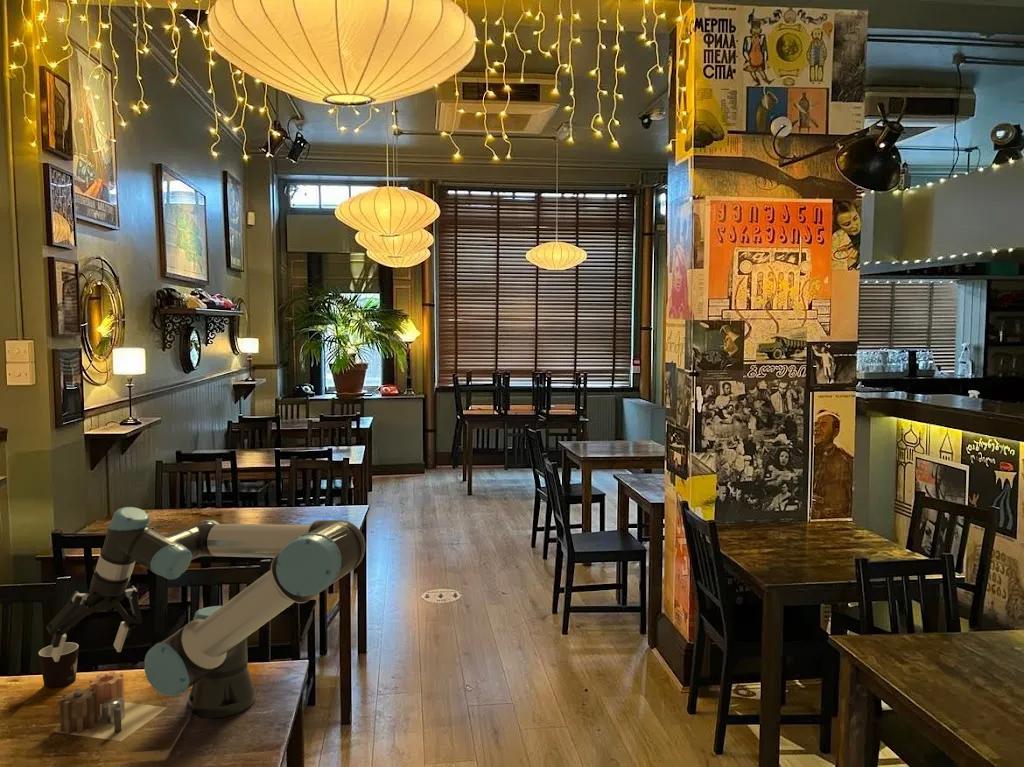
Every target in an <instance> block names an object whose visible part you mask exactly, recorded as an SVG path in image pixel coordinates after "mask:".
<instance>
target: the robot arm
mask: <svg viewBox="0 0 1024 767" xmlns="http://www.w3.org/2000/svg"><path fill="white" fill-rule="evenodd" d="M149 524H150V515H149V513H148V512H146V511H145V510H144V509H141V508H138V507H135V506H133V507H132V506H124V507H121V508H119V509H117V510H115V511H114V513H113V515H112V517H111V521H110V523H109V524H108V526H107V531H106V535H105V538H104V543H103V546H102V548H101V551H100V554H99V557H98V560H97V563H96V566H95V569H94V572H93V575H92V578H91V582H90V585H89V589H88V590H87V592H86V593H80V592H79V591H78V590H75V591H73V592H72V594H71V596H70V598H69V600H67V602H66V604H65V605H64V606H63V607H62V608H61V609H60V611H59V612H58V613H57V614H56V615H54V617H53V618H52V619H51V621H50V622H49V623H47V625H46V629H47V631H48V633H49V635H50V636H52V638H51V640H50V645H52V646H53V650H52V653H51V655H52V657H53V659H54V661H55V662H58V661H59V659H60V656H61V652H62V649H63V646H64V643H65V642H66V640H67V633H68V632H69V631H70V630H71V629H72V628H73V627H74V626H76V625H77V624H79V622H81V621H82V620H83V619H84V618H86V617H87V616H90V615H92V614H93V613H94V612H101V611H111V609H113V608H115V610H116V611H117V612H118V614H119V615H120V616H121V618H122V620H124V621H121V622H120V625H119V627H118V630H117V633H116V636H115V640H114V642H113V647H114V649H115V650H116V652H117V653H121V652H122V649H123V646H124V644H125V640H126V638H129V637H130V634H131V631H132V630H133V629H135V628H136V624H139V625H140V624H142V623H143V622H144V621H143V617H142V612H141V609H140V605H139V601H138V597H139V591H138V590H137V588H136V587H135V586H134V585H130V587H129V588H128V585H129V583H130V581H131V576H132V573H133V572H134V571H133V570H134V568H135V564H136V563H138V564H139V565H141V566H143V567H144V568H146V569H148V570H149V571H151V572H152V573H153V574H155V575H158V576H160V577H163V578H165V579H167V580H176V579H177V578H180V577H181V575H182V574H184V573H185V572H186V571H187V570H188V569H189V566H190V564H191V563H192V560H194V559H197V558H200V557H233V558H235V557H236V558H237V557H238V558H267V559H268V558H270V559H272V561H271V565H270V570H268V571H267V572H264V574H263V575H262V576H260V577H259V578H257V579H256V580H254V582H252V583H251V584H250V585H248V586H247V587H245V588H244V589H243V590H241V591H240V592H239V593H237V594H236V595H235V596H233V597H232V598H231V599H230V600H228V601H227V602H226V603H224V604H223V605H213V606H207V607H203V608H200V609H198V610H197V611H196V610H195V613H194V616H193V620H191V621H189V622H188V623H186V624H184V626H182V627H181V628H179V630H177V631H176V632H175V633H173V634H172V635H170V636H168V637H167V638H165V639H164V640H162V641H161V642H157V643H155V644H154V645H153V646H151V648H150V649H149V650H147V653H146V654H145V657H144V662H143V664H144V668H143V669H144V674H145V677H146V679H147V680H148V682H149V684H150V686H151V687H152V688H153V689H154V690H155V691H156V692H158V693H159V694H163V695H164V696H166V697H174V696H177V695H179V694H182V693H185V692H186V691H187V690H188V689H189V688H191V690H190V692H189V697H188V706H189V707H190V709H192V711H191V713H190V714H192V715H193V716H195V717H198V718H203V719H218V718H225V717H229V716H233V715H237V714H240V713H241V712H244V711H245V710H247V709H249V708H250V707H251V706H252V705H253V704H254V703H255V702H256V698H257V694H256V692H257V690H256V685H255V684H254V682H253V678H252V675H251V672H250V671H249V667H248V666H249V664H248V637H249V636H251V634H253V633H254V632H256V631H257V630H259V629H260V628H261V627H263V626H264V625H266V624H267V623H268V622H269V621H271V620H272V619H274V618H275V617H276V616H278V615H279V614H280V613H282V612H284V610H286V609H287V608H289V607H290V606H292V605H293V604H294V603H297V604H305V603H308V602H309V601H311V600H312V599H313V598H314V597H315V598H316V596H318V595H319V594H320V593H321V592H324V591H325V590H326V589H328V588H329V587H331V585H332V584H334V583H335V582H337V581H338V580H340V579H341V578H343V577H345V576H346V575H347V574H349V573H350V572H353V570H355V569H356V568H357V567H358V566H359V565H360V564H361V563H362V561H363V558H364V556H365V552H366V541H365V537H364V535H363V533H362V531H361V530H360V529H359V527H357V525H355V524H354V523H352V522H350V521H347V520H343V519H337V520H336V519H330V520H329V519H327V520H326V519H325V520H324V519H317V520H314V521H312V522H311V523H310V524H266V523H265V524H262V523H261V524H259V523H258V524H255V523H254V524H249V523H248V524H247V523H219V522H218V521H216V520H214V519H207V520H203V521H202V520H201V521H198V522H196V523H194V524H191V525H189V526H187V527H184V528H181V529H178V530H177V531H173V532H169V533H168V534H162V533H161V532H158V531H157V530H155V529H153V528H151V527H149ZM125 597H126V598H127V599H128V601H129V605H130V609H131V612H132V616H130V615H129V614H128V612H127V611H126V610H125V608H124V607H123V606H122V604H121V603H120V602H121V601H122V600H123V599H124V598H125ZM254 701H255V702H254Z"/></svg>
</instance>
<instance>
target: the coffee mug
mask: <svg viewBox="0 0 1024 767" xmlns="http://www.w3.org/2000/svg"><path fill="white" fill-rule="evenodd" d="M79 646H80V645H79V644H78V643H76V642H73V641H72V642H69V641H68V642H67V641H65V643H64V646H63V649H62V652H61V656H60V659H59V661H58V662H55V661H54V659H53V657H52V655H51V653H52V650H53V646H52V644H50V645H48V646H45V647H43V648H41V649H40V650H39V651H38V658H39V664H40V668H41V670H40V671H41V675H42V680H43V685H44V686H43V687H44V688H45V689H49V690H53V689H55V690H56V689H62V688H65V687H68V686H71V685H72V684H74V683H75V682H76V678H77V670H78V669H77V668H78V658H79V657H78V656H79Z"/></svg>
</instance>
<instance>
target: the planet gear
mask: <svg viewBox="0 0 1024 767" xmlns="http://www.w3.org/2000/svg"><path fill="white" fill-rule="evenodd" d="M124 681H125V680H124V674H123V673H122V672H119V673H116V671H109V673H104V674H103V673H100V674H97V675H96V676H95V677H92V678H90V679H89V683H88V684H89V685H88V686H89V687H88V688H93V691H96V692H97V714H99V716H100V704H101V702H102V701H103V700H109V698H112V697H113V698H117V697H122V699H124V700H125V684H124V683H125V682H124Z"/></svg>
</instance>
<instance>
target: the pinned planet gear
mask: <svg viewBox="0 0 1024 767" xmlns="http://www.w3.org/2000/svg"><path fill="white" fill-rule="evenodd" d="M59 715H60V716H59V717H60V723H59V724H60V728H61V731H64V732H65V733H64V735H71V734H70V733H72V732H77V734H79V733H83V730H86V729H92V728H94V727H95V723H98V717H97V692H96V691H93V688H89V687H88V688H86V689H81V688H77V689H74V691H72V692H65V693H64V694H62V697H61V698H59Z"/></svg>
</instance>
